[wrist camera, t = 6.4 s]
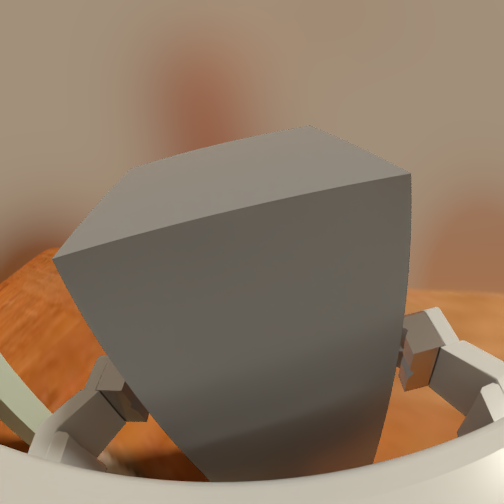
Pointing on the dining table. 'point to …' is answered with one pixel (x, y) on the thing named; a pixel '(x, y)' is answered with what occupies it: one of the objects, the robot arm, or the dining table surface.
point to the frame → (19, 404)
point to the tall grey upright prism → (253, 298)
